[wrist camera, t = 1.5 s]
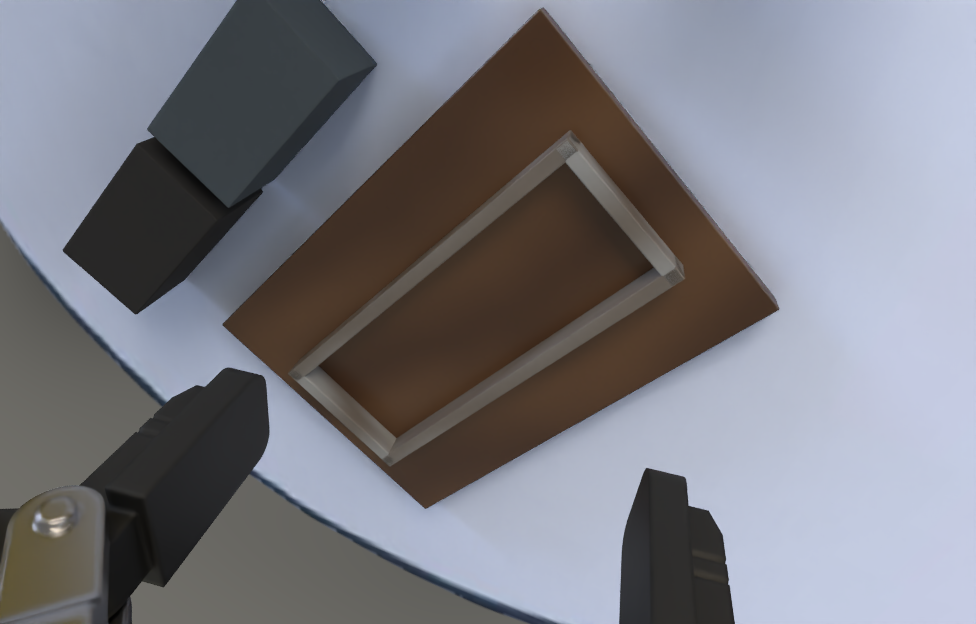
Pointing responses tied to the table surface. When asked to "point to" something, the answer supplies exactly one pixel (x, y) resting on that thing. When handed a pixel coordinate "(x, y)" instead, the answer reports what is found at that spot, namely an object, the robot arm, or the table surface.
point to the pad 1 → (259, 93)
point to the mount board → (500, 276)
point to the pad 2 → (151, 227)
